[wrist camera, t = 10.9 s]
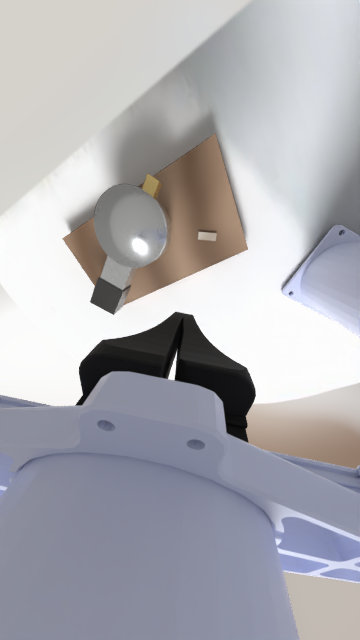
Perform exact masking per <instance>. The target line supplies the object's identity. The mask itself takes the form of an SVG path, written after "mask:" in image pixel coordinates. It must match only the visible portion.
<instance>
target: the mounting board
mask: <svg viewBox="0 0 360 640" xmlns="http://www.w3.org/2000/svg"><path fill="white" fill-rule="evenodd" d="M153 177H154V178H155V179H157V180H158V181H159V182H160V183H161V184H162V186H161V188H160V191H159V193H158V196H157V198H156V200H158V201H159V202H160V203H161V204H162V206H163V207H164V209H165V210H166V212H167V214H168V216H169V220H170V224H171V239H170V243H169V245H168V248H167V249H166V251H165V252H164V254H163V255H162V256H161V257H159V258H158V259H157V260H155V261H153V262H151V263H150V264H148V265H146V266H143V267H139V268H137V270H136V272H135V275H134V277H133V279H132V282H131V284H130V285H131V288H130V290H129V293H128V295H127V297H126V300H125V302H124V304H123V305H125V304H127V303H130V302H132V301H134V300H136V299H138V298H141V297H143V296H145V295H147V294H150V293H152V292H154V291H156V290H158V289H161V288H163V287H165V286H167V285H170V284H172V283H174V282H176V281H179V280H181V279H183V278H185V277H187V276H190V275H192V274H194V273H196V272H199V271H201V270H203V269H205V268H207V267H210V266H212V265H214V264H216V263H219V262H221V261H223V260H225V259H228V258H230V257H232V256H234V255H236V254H239V253H241V252H243V251H245V250H248V247H247V244H246V240H245V237H244V233H243V230H242V226H241V223H240V219H239V215H238V212H237V208H236V205H235V201H234V198H233V194H232V190H231V187H230V183H229V180H228V176H227V173H226V169H225V166H224V162H223V158H222V155H221V151H220V148H219V144H218V141H217V137H216V133H215V134H214V135H213V136H211V137H210V138H208V139H207V140H205V141H204V142H202V143H201V144H199V145H198V146H196V147H195V148H194V149H192V150H191V151H189V152H188V153H186V154H185V155H183V156H182V157H180V158H179V159H178V160H176V161H175V162H173V163H172V164H170V165H169V166H167V167H166V168H164V169H163V170H162V171H160V172H159V173H157V174H156V175H154V176H153ZM143 185H144V183H143V184H141V185H140V186H138V187H139V188H141V189H142V188H143ZM62 239H63V240H64V242H65V243H66V245H67V246H68V247H69V249H70V250H71V252H72V253H73V255H74V256H75V258H76V259H77V261H78V262H79V263H80V265H81V266H82V268H83V269H84V271H85V272H86V274H87V275H88V277H89V278H90V280H91V281H92V282H93V284H94V285H96V282H97V279H98V278H99V277H101V274H102V271H103V268H104V265H105V262H106V259H107V256H108V255H107V254H106V253H105V251H104V250H103V249H102V247H101V245H100V243H99V241H98V239H97V236H96V233H95V228H94V217H93V218H92V219H90V220H89V221H87V222H86V223H84V224H83V225H81V226H80V227H78V228H77V229H76V230H74V231H73V232H71V233H70V234H68V235H67V236H65V237H64V238H62Z"/></svg>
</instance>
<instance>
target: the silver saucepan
mask: <svg viewBox="0 0 360 640" xmlns="http://www.w3.org/2000/svg"><path fill="white" fill-rule="evenodd" d="M161 186H162V184H161V183H160V182H159V181H158V180H157V179H155V178H154V177H152V176H151V175H149V174H147V177H146V179H145V182H144V185H143V188H142V189H141V188H139V187H137V186H134V185H130V184H119V185H115V186H113V187H111V188H109V189H108V190H106V191H105V192H104V193H103V194H102V195H101V197H100V198H99V200H98V202H97V204H96V208H95V212H94V228H95V233H96V236H97V239H98V241H99V243H100V245H101V247H102V249H103V250H104V251H105V253H106V254H107V255H108V256H107V259H106V262H105V265H104V268H103V271H102V274H101V277H99V278H98V279H97V282H96V285H95V289H94V292H93V295H92V298H91V301H90V302H91V303H93V304H95V305H96V306H98V307H100V308H102V309H104V310H106V311H108V312H109V313H111V314H113V315H114V314H115V313H116V312H117V311H118V310H119V309H120V308H121V307H122V306H123V304H124V302H125V300H126V297H127V295H128V293H129V290H130V288H131V285H130V284H131V282H132V279H133V277H134V275H135V272H136V270H137V268H139V267H143V266H146V265H148V264H150V263H151V262H153V261H155V260H157V259H158V258H159V257H161V256H162V255H163V254H164V252H165V251H166V249H167V248H168V245H169V243H170V239H171V224H170V220H169V216H168V214H167V212H166V210H165V209H164V207H163V206H162V204H161V203H160V202H159V201H158V200H156V198H157V196H158V193H159V191H160V188H161Z"/></svg>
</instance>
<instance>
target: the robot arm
mask: <svg viewBox="0 0 360 640" xmlns="http://www.w3.org/2000/svg"><path fill="white" fill-rule="evenodd" d="M341 230H342V234H341V235H339V232H340V231H341ZM291 291H292V293H291V294H290V295H289V292H291ZM282 294H283V295H285V296H287V297H289V298H291V299H293V300H295V301H297V302H299V303H301V304H303V305H305V306H306V307H308V308H310V309H312V310H314V311H316V312H318V313H320V314H322V315H324V316H326V317H328V318H330V319H332V320H334V321H336V322H338V323H339V324H341V325H342V326H344V327H345V328H347V329H348V330H350V331H351V332H353V333H354V334H356V335H357V336H359V337H360V235H358V234H356V233H355V232H353V231H351V230H349V229H348V228H346V227H344V226H343V225H335V226H333V227H332V228H331V229H330V231H329V232H328V233H327V234H326V236H325V237H324V238H323V239H322V241H321V242H320V243H319V244H318V246H317V247H316V248H315V249H314V251H313V252H312V253H311V254H310V256H309V257H308V258H307V259H306V261H305V262H304V263H303V264H302V266H301V267H300V268H299V269H298V271H297V272H296V273H295V274H294V276H293V277H292V278H291V279H290V281H289V282H288V283H287V284H286V286H285V287H284V288H283V289H282ZM176 352H177V361H176V374H175V381H174V380H169V379H168V376H169V373H170V370H171V367H172V364H173V361H174V358H175V355H176ZM79 375H80V381H81V386H82V391H83V396H82V397H81V399H80V400H79V401H78V402H77V404H76V405H75V406H50V405H46V404H41V403H36V402H31V401H27V400H22V399H17V398H12V397H8V396H3V395H0V640H299V636H298V632H297V629H296V624H295V620H294V616H293V611H292V607H291V603H290V599H289V595H288V590H287V586H286V582H285V578H284V574H283V572H289V573H296V574H303V575H309V576H316V577H323V578H330V579H337V580H343V581H349V582H355V583H360V465H359V466H358V467H357V469H353V468H348V467H343V466H338V465H333V464H328V463H324V462H319V461H314V460H309V459H304V458H299V457H295V456H290V455H285V454H280V453H276V452H271V451H266V450H263V449H260V448H258V447H256V446H254V445H252V444H249V443H248V438H247V434H246V429H245V428H247V420H246V415H247V413H248V411H249V409H250V407H251V406H252V404H253V402H254V399H255V396H256V393H255V387H254V385H253V382H252V379H251V376H250V374H249V372H248V370H247V368H246V367H244V366H242V365H241V364H239V363H237V362H235V361H233V360H232V359H230V358H229V357H227V356H226V355H224V354H223V353H222V352H220V351H219V350H218V349H217V348H216V347H215V346H213V345H212V344H211V343H210V342H209V341H208V339H207V338H206V337H205V336H204V335H203V333H202V332H201V330H200V328H199V327H198V325H197V323H196V321H195V319H194V316H193V315H190V314H184V313H179V312H175V313H173V314H172V315H171V316H170V317H169V318H167V319H166V320H165V321H163V322H162V323H160V324H159V325H157V326H156V327H154V328H152V329H149V330H147V331H144V332H141V333H138V334H135V335H132V336H127V337H122V338H116V339H108V340H102V341H101V342H100V343H99V344H98V345H97V346H96V347H95V348H94V349H93V350H92V351H91V352H90V353H89V354H88V355H87V356H86V358H85V359H84V360H83V361H82V362H81V364H80V367H79Z"/></svg>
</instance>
